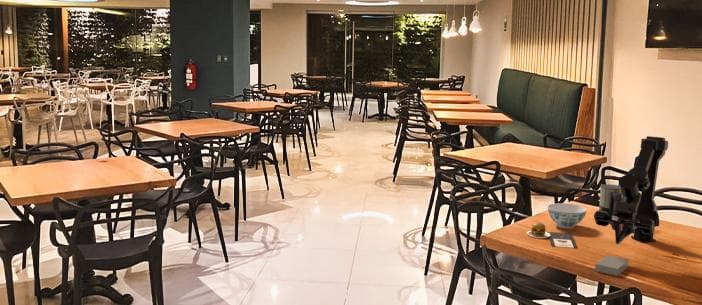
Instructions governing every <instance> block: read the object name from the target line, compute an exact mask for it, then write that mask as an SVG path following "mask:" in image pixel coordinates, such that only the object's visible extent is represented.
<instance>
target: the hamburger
mask: <svg viewBox="0 0 702 305" xmlns="http://www.w3.org/2000/svg"><path fill="white" fill-rule="evenodd" d="M530 229H531V230H529V231H526V234H527V235H528V236H529V237H531V238H535V239H546V238H549V237H550V236H551V235H550V234H549V233H547V232H548V231H547V229H546V225H545V224H544V223H542V222H534V223H533V224H532V225H531V227H530Z"/></svg>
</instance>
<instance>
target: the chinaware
mask: <svg viewBox="0 0 702 305" xmlns="http://www.w3.org/2000/svg"><path fill="white" fill-rule="evenodd" d="M547 212H548V214H549V217H550V219H551V221H553V223H555V224H556V226H557V227H558V228H561V229H565V230H566V229H570V230H571V229H574V228H575V226H577V225H578V224H580V223H581V222H582V221H583V219H584V218H585V216H586V214H587V208H585V207H584V206H582V205H579V204H572V203H562V202H559V203H558V202H557V203H550V204H548V205H547Z"/></svg>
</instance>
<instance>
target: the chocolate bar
mask: <svg viewBox="0 0 702 305" xmlns="http://www.w3.org/2000/svg"><path fill="white" fill-rule="evenodd" d="M546 232H547V233H549V234H550V235H551V236H550V237H548V238H549V243H550V246H551V247H553V248H554V247H555V248H565V249H566V248H568V249H578V246H577V242H576V241H575V238H574V235H573V234H572V233H571V232H570V233H569V232H556V231H546Z"/></svg>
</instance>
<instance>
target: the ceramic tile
mask: <svg viewBox="0 0 702 305" xmlns="http://www.w3.org/2000/svg"><path fill="white" fill-rule="evenodd" d="M629 262H630V259H628V258H623V257H619V256H614V255H608V254H607V255H605V256H604V257H602V259H600V260H599V261H598V262H596V263H595V265H594V266H595V267H594V272H596V273H602V274H606V275H610V276H615V277H618V276H619V275H620V274H622V273H623V272H624V271H625V270H626V269H627V268H628V267H629V264H630V263H629Z"/></svg>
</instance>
